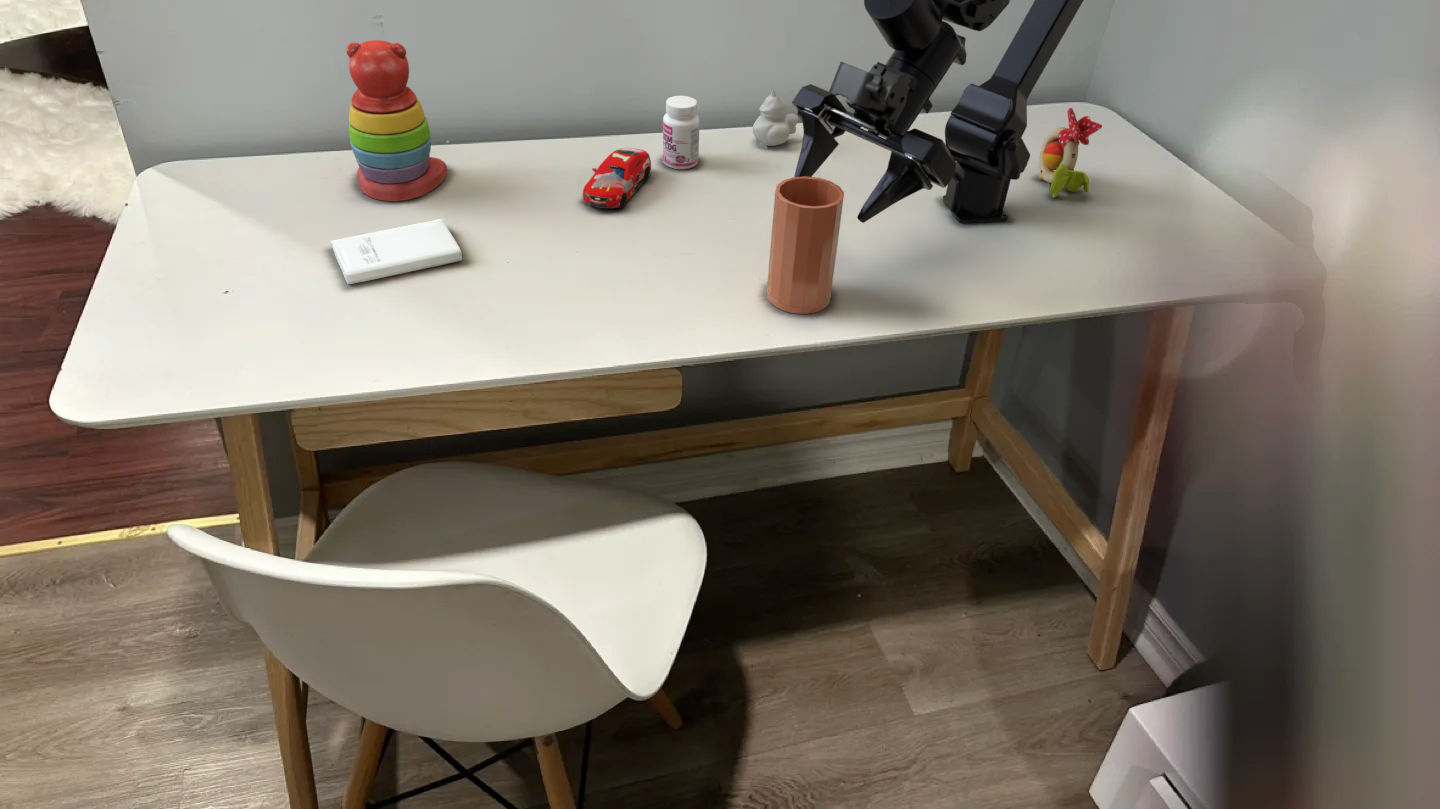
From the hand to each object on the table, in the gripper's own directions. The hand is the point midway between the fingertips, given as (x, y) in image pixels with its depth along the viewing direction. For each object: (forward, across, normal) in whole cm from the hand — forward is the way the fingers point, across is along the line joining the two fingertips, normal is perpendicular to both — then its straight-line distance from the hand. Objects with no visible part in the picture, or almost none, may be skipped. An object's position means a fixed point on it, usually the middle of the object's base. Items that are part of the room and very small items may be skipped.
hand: (826, 203), depth 104 cm
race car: (+10, -32, +5) cm, 34 cm away
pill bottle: (+2, -33, +13) cm, 36 cm away
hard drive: (+30, -34, -16) cm, 48 cm away
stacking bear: (+24, -50, -10) cm, 56 cm away
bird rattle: (-23, +3, +38) cm, 44 cm away
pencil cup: (+9, 0, +5) cm, 11 cm away
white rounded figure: (-9, -30, +24) cm, 39 cm away
